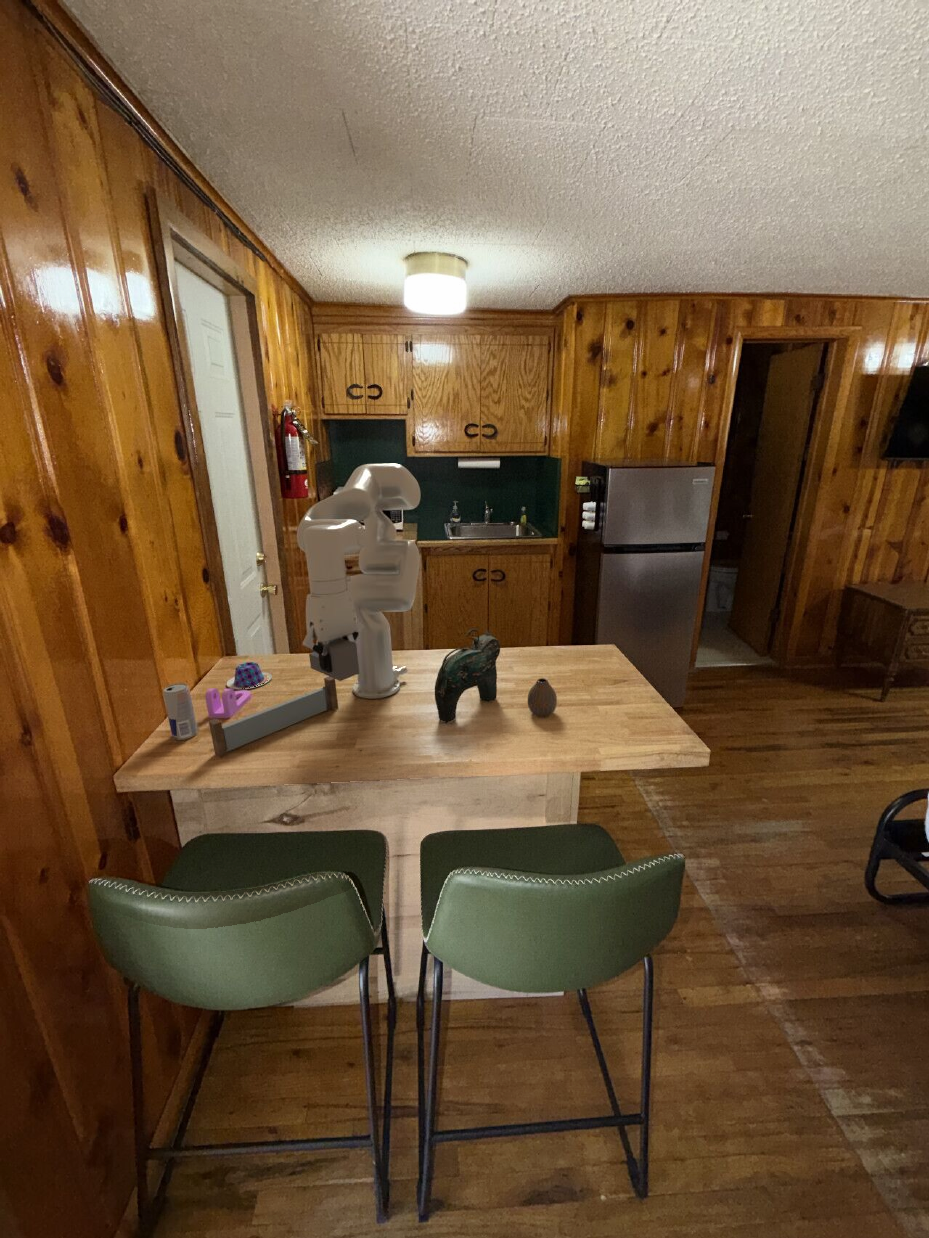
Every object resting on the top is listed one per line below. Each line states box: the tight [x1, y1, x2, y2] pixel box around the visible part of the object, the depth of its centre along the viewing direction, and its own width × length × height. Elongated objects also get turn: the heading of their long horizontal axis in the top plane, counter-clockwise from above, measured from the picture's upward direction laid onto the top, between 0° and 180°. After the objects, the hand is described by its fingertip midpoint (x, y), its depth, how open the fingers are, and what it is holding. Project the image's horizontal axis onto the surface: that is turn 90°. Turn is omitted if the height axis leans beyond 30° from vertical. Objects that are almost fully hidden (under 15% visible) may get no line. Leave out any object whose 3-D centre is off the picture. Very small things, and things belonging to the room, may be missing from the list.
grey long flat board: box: [222, 685, 330, 752], centre depth 125 cm, size 26×1×6 cm, turn 137°
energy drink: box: [162, 682, 199, 741], centre depth 123 cm, size 5×5×12 cm
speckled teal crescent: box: [434, 628, 501, 724], centre depth 130 cm, size 20×6×20 cm, turn 135°
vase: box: [527, 677, 558, 718], centre depth 128 cm, size 7×7×9 cm
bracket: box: [204, 688, 252, 719], centre depth 137 cm, size 13×6×7 cm, turn 175°
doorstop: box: [308, 637, 359, 682], centre depth 117 cm, size 5×11×7 cm, turn 48°
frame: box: [208, 676, 339, 759], centre depth 125 cm, size 30×2×8 cm, turn 137°
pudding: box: [226, 661, 273, 690], centre depth 152 cm, size 12×12×5 cm
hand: (337, 665), depth 117 cm, fingers closed on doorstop, 5 cm apart
